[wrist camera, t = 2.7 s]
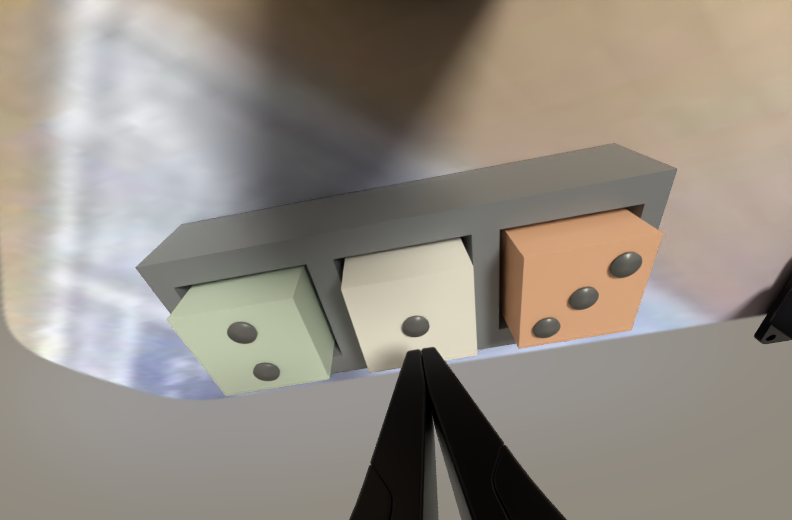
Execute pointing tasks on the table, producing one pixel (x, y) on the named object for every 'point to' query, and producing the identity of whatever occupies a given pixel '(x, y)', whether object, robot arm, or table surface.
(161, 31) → the table surface
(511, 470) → the robot arm
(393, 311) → the tile one dot
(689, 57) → the table surface
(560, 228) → the tile three dots
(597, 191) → the grey tile tray
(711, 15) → the table surface
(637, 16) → the table surface
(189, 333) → the tile two dots
